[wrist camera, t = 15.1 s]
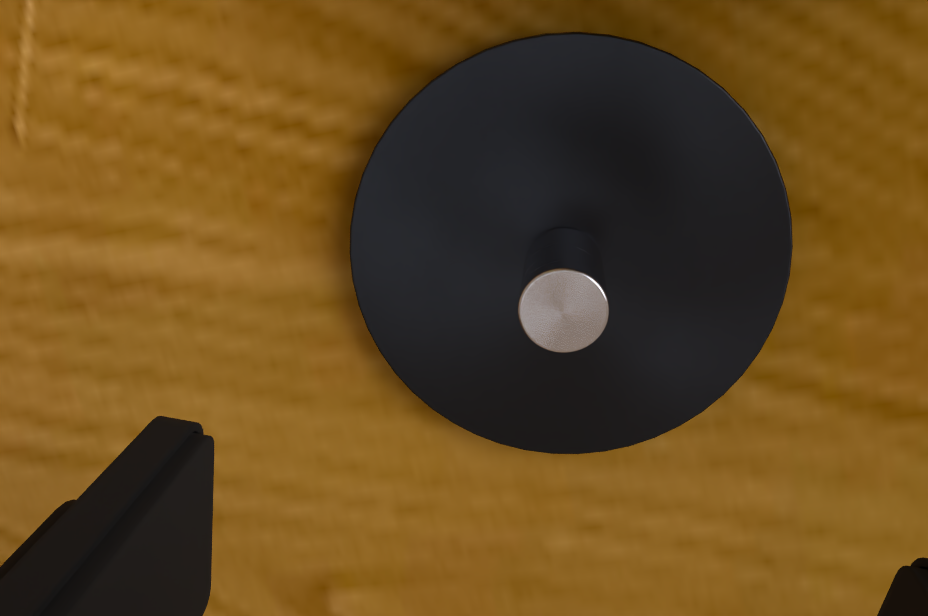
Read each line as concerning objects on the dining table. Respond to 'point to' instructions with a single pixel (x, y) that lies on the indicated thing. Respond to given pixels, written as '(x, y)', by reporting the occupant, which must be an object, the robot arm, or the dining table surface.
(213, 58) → the dining table surface
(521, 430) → the pot lid
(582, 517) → the dining table surface
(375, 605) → the dining table surface
